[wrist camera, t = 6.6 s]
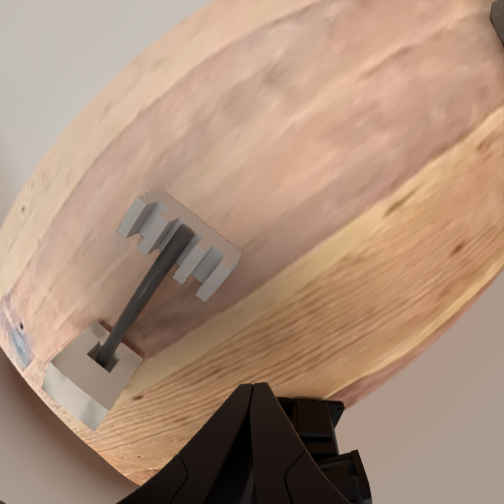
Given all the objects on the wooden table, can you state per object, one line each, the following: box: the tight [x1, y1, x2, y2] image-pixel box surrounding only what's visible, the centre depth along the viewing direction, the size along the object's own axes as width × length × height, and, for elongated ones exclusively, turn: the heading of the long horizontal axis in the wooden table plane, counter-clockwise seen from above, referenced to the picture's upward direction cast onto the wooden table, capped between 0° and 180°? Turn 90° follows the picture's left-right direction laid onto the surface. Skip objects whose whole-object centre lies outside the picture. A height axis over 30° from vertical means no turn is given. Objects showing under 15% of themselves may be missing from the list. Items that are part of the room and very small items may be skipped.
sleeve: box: [42, 320, 143, 431], centre depth 19 cm, size 4×5×7 cm
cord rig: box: [95, 190, 242, 368], centre depth 19 cm, size 19×7×5 cm, turn 141°
